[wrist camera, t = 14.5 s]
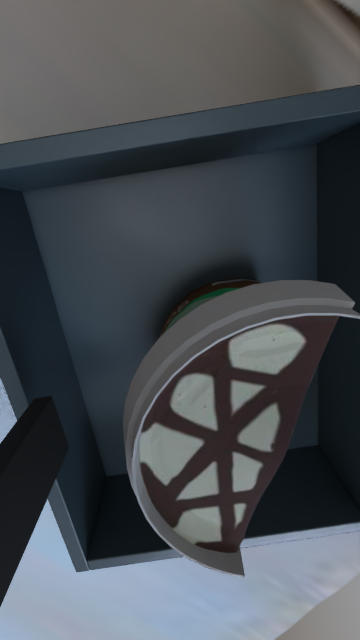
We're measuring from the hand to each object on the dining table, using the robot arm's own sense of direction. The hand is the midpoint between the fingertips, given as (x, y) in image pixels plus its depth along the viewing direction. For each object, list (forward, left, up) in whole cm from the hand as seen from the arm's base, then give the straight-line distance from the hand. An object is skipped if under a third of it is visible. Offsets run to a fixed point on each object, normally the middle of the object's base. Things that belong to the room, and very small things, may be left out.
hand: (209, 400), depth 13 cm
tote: (0, 0, -8) cm, 8 cm away
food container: (0, 0, -7) cm, 7 cm away
